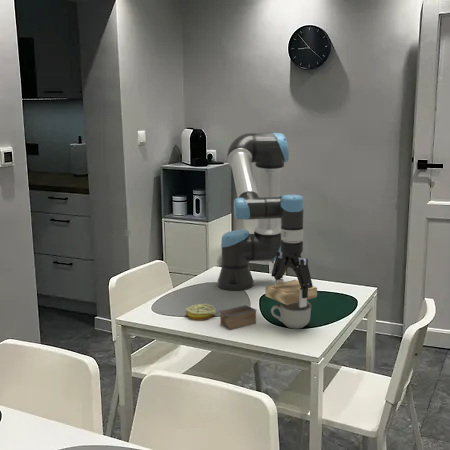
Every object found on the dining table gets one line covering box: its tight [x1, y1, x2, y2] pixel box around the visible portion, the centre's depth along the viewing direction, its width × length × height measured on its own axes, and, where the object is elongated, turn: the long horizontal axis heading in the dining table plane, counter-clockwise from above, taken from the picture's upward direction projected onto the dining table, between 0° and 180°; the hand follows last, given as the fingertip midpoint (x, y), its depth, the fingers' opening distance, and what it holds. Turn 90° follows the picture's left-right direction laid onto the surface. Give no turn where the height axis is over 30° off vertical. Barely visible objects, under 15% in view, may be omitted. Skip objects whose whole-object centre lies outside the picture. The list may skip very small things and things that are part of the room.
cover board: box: [264, 279, 318, 305], centre depth 210 cm, size 12×14×4 cm
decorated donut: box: [185, 303, 217, 321], centre depth 223 cm, size 10×11×4 cm
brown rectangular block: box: [219, 304, 258, 331], centre depth 214 cm, size 6×11×5 cm, turn 125°
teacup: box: [270, 301, 312, 330], centre depth 212 cm, size 14×11×8 cm
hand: (291, 301), depth 211 cm, fingers closed on cover board, 11 cm apart
